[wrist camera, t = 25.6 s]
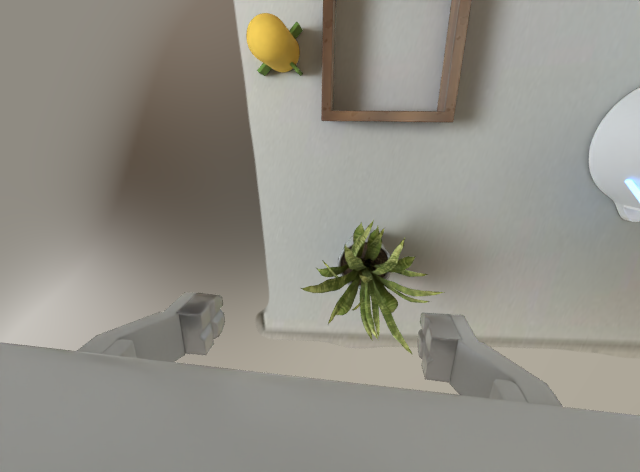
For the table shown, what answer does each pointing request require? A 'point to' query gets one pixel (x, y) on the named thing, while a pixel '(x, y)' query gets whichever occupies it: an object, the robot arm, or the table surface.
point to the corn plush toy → (273, 43)
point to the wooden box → (443, 114)
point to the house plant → (370, 280)
